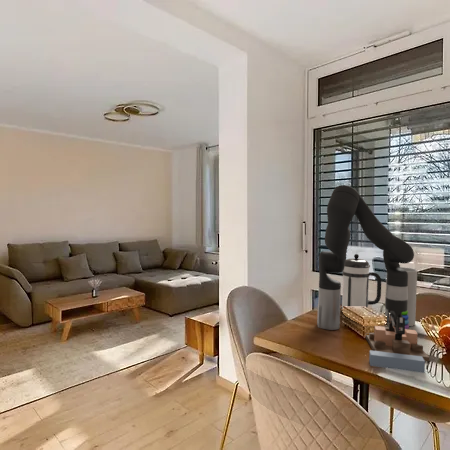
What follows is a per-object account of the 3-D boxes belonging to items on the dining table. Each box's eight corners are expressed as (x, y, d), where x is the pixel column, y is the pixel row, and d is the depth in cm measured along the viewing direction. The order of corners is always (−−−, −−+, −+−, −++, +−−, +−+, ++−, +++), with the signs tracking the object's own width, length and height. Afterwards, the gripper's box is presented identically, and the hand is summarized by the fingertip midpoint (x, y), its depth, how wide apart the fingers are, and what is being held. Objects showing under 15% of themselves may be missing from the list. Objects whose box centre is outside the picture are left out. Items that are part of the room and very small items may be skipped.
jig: (376, 356, 125) (377, 341, 125) (365, 337, 145) (365, 324, 144) (429, 361, 122) (430, 346, 122) (410, 340, 141) (411, 327, 141)
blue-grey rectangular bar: (370, 366, 118) (370, 354, 118) (369, 361, 122) (369, 350, 121) (424, 373, 113) (425, 361, 113) (421, 368, 117) (421, 356, 117)
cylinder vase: (396, 327, 157) (398, 271, 156) (379, 319, 169) (381, 267, 168) (421, 326, 160) (423, 271, 159) (402, 318, 172) (404, 266, 171)
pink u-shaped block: (414, 344, 133) (415, 330, 133) (417, 349, 129) (417, 334, 129) (374, 339, 137) (374, 325, 137) (375, 344, 133) (375, 329, 133)
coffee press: (362, 320, 167) (364, 256, 166) (332, 312, 179) (334, 253, 178) (380, 314, 178) (383, 254, 177) (351, 307, 190) (353, 251, 189)
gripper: (413, 302, 125) (411, 348, 125) (401, 293, 139) (400, 334, 139) (390, 301, 126) (389, 346, 127) (381, 292, 140) (379, 333, 141)
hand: (394, 340), depth 133 cm, fingers open, 8 cm apart
